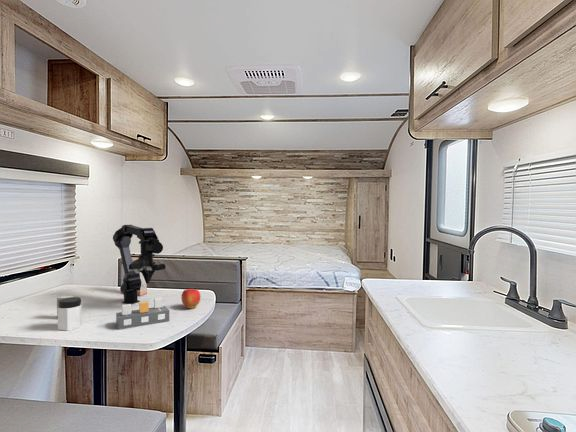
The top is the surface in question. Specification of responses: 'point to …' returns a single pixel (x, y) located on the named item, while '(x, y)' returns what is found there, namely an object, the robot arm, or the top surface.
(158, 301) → the tab
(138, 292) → the cracker box
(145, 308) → the tab
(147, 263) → the robot arm
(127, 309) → the tab
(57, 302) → the skincare box
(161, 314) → the grey cube slider board
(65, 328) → the jar
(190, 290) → the apple
